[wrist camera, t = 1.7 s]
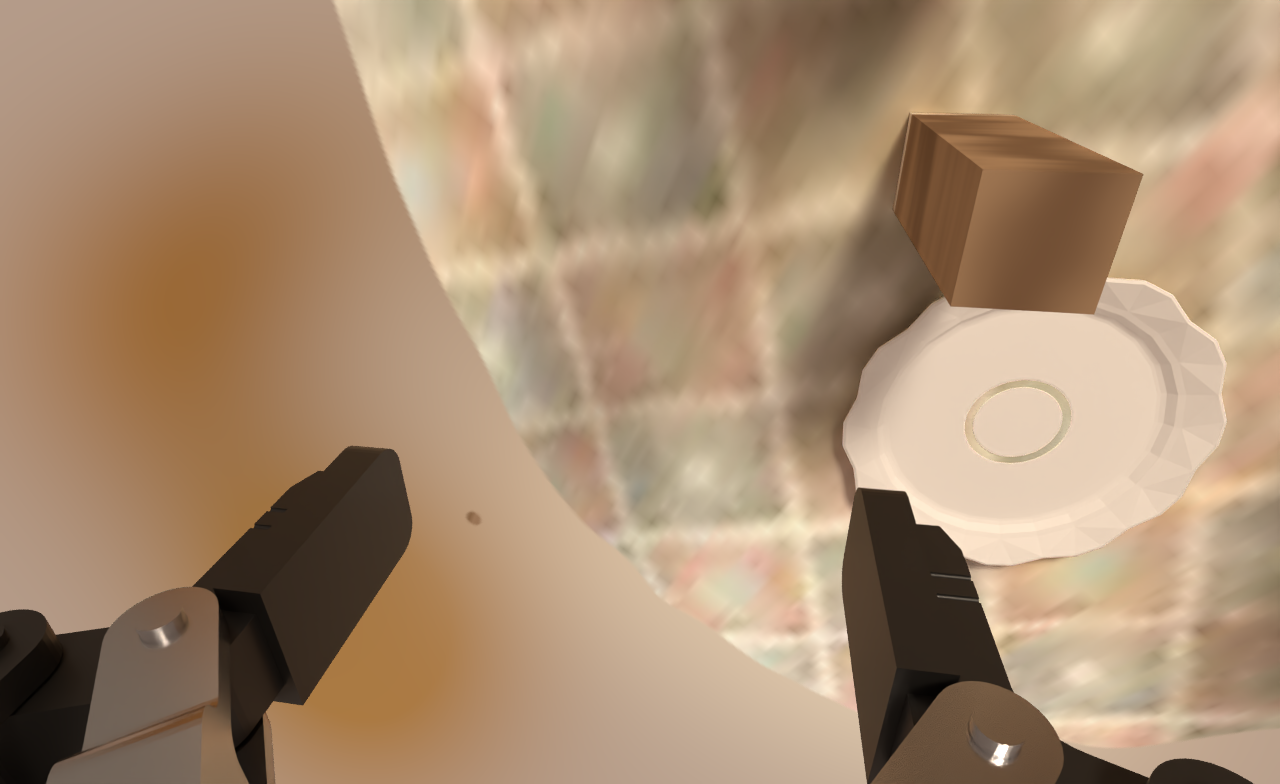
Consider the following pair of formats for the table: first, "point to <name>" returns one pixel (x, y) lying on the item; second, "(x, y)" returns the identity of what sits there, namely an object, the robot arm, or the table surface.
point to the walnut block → (1011, 212)
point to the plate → (1040, 421)
